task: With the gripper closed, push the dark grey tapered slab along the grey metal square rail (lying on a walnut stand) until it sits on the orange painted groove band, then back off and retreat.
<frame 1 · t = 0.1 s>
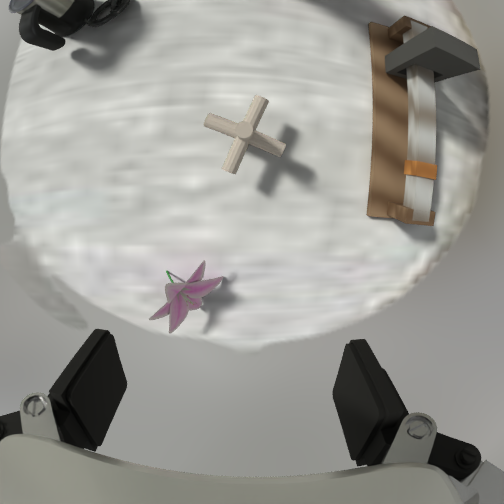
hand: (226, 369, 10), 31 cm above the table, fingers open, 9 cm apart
milk frother: (90, 14, 28), on the table
dark grey tapered slab: (429, 60, 25), point 8 cm above the table, slide at 0.0 cm
pipe connector: (245, 137, 37), on the table
pipe stand: (403, 118, 35), on the table
lily: (190, 283, 43), on the table
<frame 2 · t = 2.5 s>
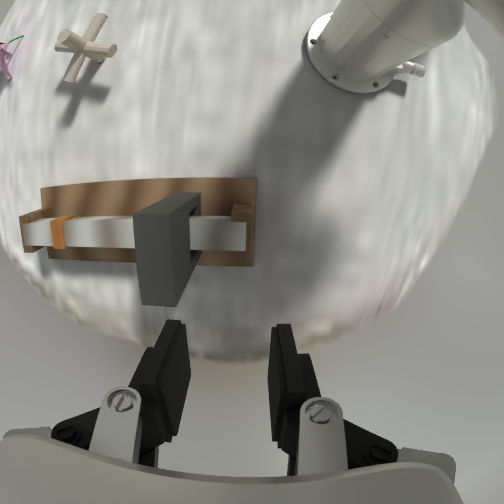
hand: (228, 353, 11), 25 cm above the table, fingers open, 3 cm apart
dark grey tapered slab: (175, 238, 27), point 8 cm above the table, slide at 0.0 cm
pipe connector: (101, 57, 28), on the table
pipe stand: (133, 220, 35), on the table
lily: (13, 56, 25), on the table
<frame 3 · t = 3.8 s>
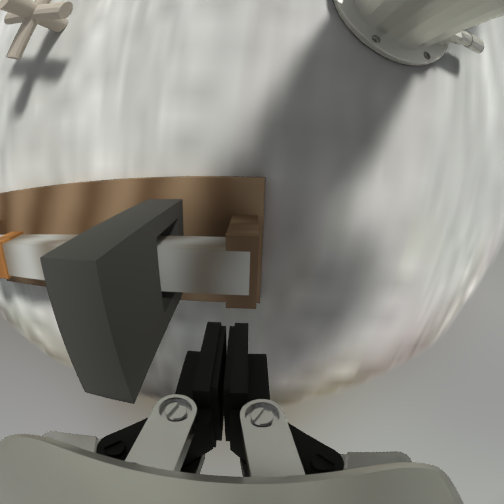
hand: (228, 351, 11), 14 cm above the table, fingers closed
dark grey tapered slab: (137, 277, 17), point 8 cm above the table, slide at 0.0 cm
pipe connector: (62, 26, 16), on the table
pipe stand: (96, 237, 24), on the table
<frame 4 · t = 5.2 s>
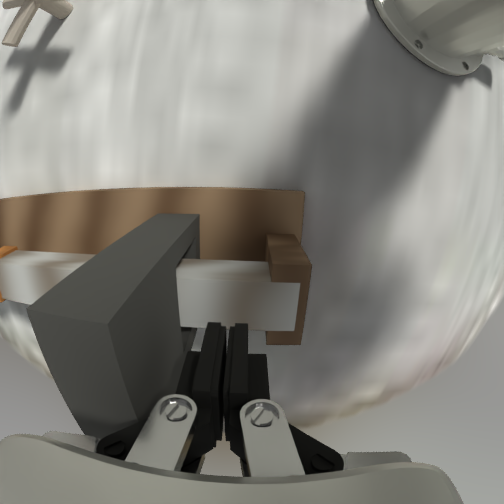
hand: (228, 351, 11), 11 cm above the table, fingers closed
dark grey tapered slab: (151, 312, 14), point 8 cm above the table, slide at 0.6 cm, touching gripper
pipe connector: (66, 12, 14), on the table
pipe stand: (102, 255, 21), on the table
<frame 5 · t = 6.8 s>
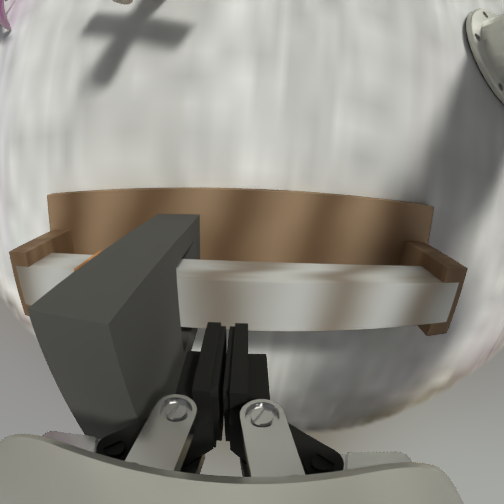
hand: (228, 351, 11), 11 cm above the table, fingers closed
dark grey tapered slab: (151, 313, 14), point 8 cm above the table, slide at 11.8 cm, touching gripper
pipe stand: (232, 261, 21), on the table
lily: (16, 3, 12), on the table
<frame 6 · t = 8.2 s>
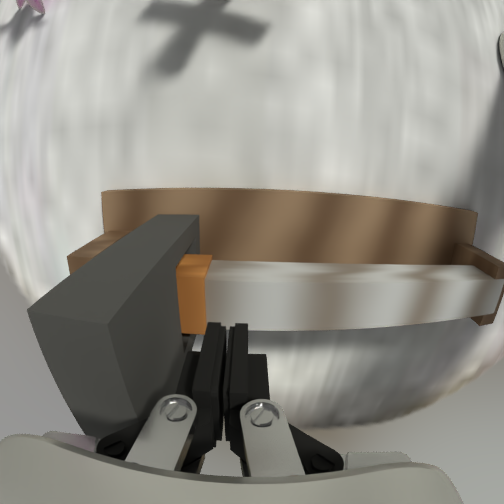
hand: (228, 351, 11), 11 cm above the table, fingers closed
dark grey tapered slab: (151, 313, 14), point 8 cm above the table, slide at 17.7 cm, touching gripper
pipe stand: (310, 263, 22), on the table
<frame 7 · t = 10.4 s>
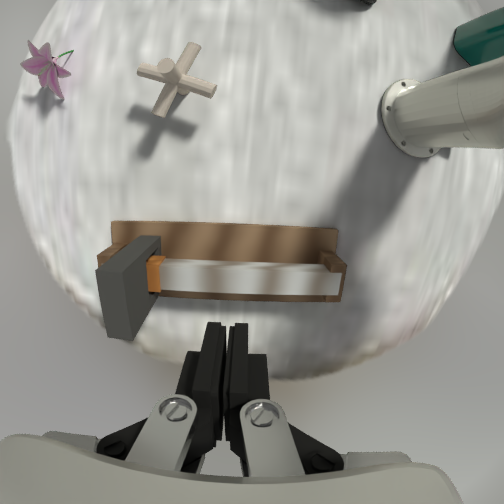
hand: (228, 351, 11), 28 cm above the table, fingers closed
dark grey tapered slab: (135, 280, 31), point 8 cm above the table, slide at 17.7 cm
pipe connector: (184, 89, 32), on the table
teal bottle: (466, 47, 29), on the table
pipe stand: (221, 261, 40), on the table
lily: (61, 73, 30), on the table
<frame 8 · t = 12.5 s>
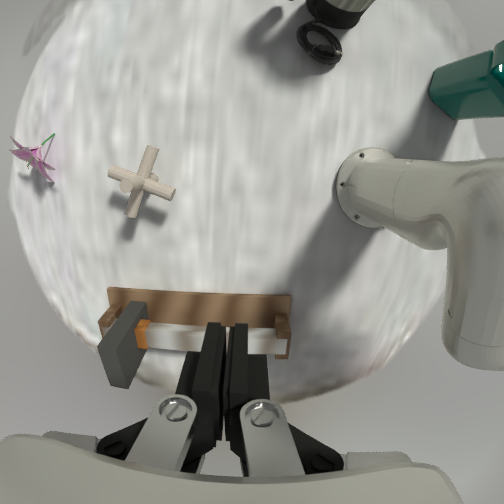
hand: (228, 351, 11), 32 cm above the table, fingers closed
milk frother: (328, 25, 32), on the table
dark grey tapered slab: (128, 342, 40), point 8 cm above the table, slide at 17.7 cm
pipe connector: (153, 179, 40), on the table
teal bottle: (444, 91, 35), on the table
pipe stand: (195, 320, 48), on the table
lily: (48, 155, 38), on the table
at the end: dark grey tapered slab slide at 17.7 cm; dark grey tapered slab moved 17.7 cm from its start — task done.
